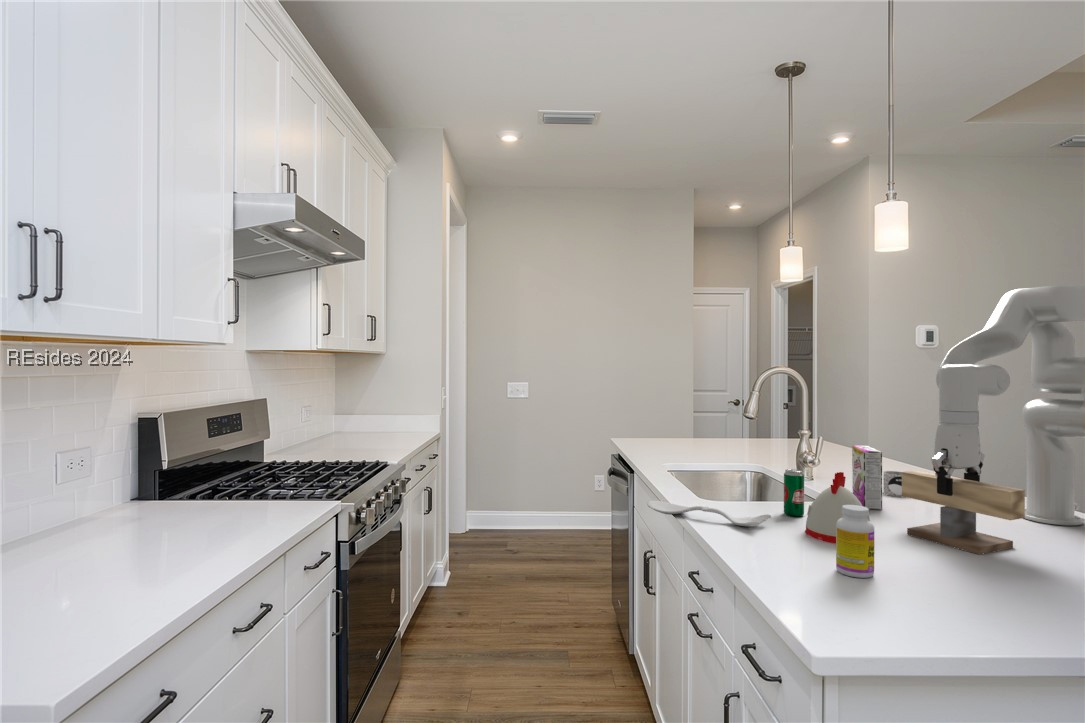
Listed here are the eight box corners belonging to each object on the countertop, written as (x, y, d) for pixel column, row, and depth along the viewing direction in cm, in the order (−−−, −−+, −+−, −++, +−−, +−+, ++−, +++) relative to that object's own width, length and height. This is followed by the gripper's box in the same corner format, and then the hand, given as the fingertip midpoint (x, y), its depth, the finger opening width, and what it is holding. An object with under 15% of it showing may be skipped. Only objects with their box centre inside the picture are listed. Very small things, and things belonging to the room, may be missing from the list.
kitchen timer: (878, 535, 141) (878, 472, 141) (861, 549, 131) (861, 481, 131) (817, 524, 151) (817, 465, 150) (797, 536, 140) (797, 473, 140)
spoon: (759, 535, 142) (759, 520, 142) (641, 513, 162) (641, 500, 162) (771, 527, 149) (771, 513, 149) (657, 506, 169) (657, 494, 169)
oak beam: (915, 494, 149) (915, 470, 149) (1024, 517, 127) (1024, 489, 127) (901, 496, 147) (901, 471, 147) (1010, 520, 125) (1010, 491, 125)
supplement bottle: (873, 581, 112) (873, 513, 112) (834, 574, 115) (834, 508, 115) (875, 571, 117) (875, 506, 117) (838, 564, 121) (838, 501, 121)
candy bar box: (851, 500, 176) (851, 445, 176) (869, 500, 175) (869, 445, 175) (863, 509, 165) (863, 450, 165) (883, 510, 164) (883, 451, 164)
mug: (888, 496, 181) (888, 474, 181) (879, 491, 188) (879, 470, 188) (924, 497, 180) (924, 475, 180) (914, 492, 186) (914, 471, 186)
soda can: (795, 518, 156) (795, 472, 156) (779, 514, 160) (779, 469, 160) (808, 516, 158) (808, 471, 158) (792, 511, 163) (792, 468, 163)
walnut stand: (939, 528, 146) (940, 496, 146) (1012, 547, 132) (1013, 511, 132) (907, 534, 142) (907, 501, 142) (979, 554, 127) (979, 517, 127)
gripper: (965, 415, 144) (964, 486, 144) (917, 418, 137) (917, 492, 137) (999, 418, 137) (999, 492, 137) (951, 421, 130) (951, 499, 130)
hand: (958, 492), depth 137 cm, fingers open, 9 cm apart
